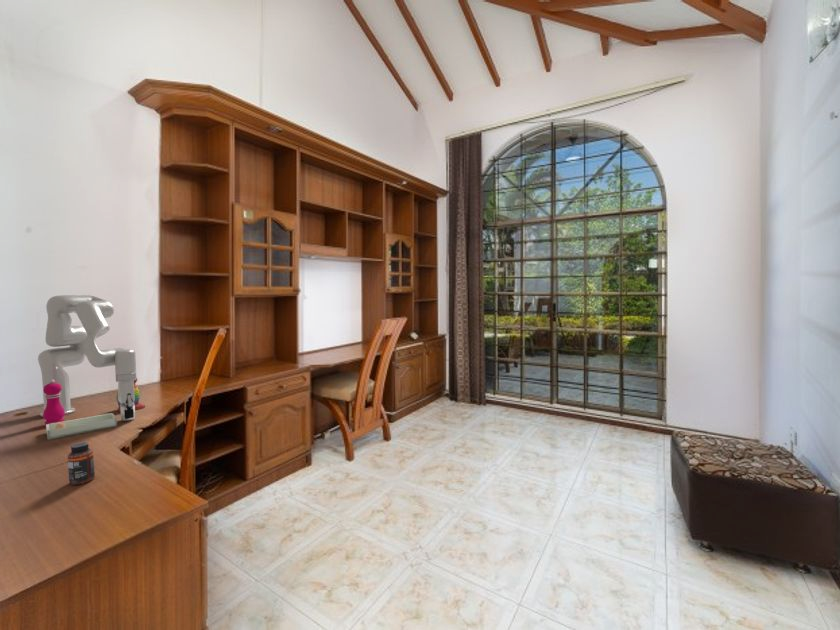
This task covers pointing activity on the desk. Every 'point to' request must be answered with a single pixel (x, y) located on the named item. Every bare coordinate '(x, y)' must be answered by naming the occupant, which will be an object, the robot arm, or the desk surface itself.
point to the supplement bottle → (80, 464)
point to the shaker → (124, 413)
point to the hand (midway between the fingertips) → (128, 416)
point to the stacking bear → (137, 396)
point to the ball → (60, 425)
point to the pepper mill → (53, 403)
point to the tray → (81, 426)
